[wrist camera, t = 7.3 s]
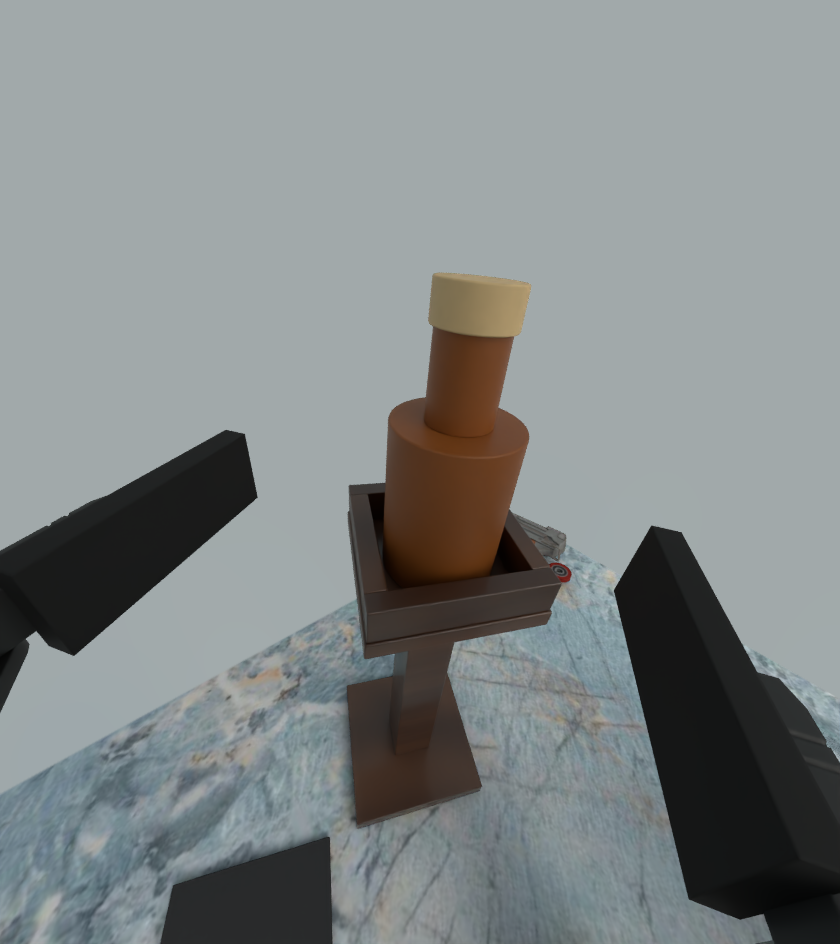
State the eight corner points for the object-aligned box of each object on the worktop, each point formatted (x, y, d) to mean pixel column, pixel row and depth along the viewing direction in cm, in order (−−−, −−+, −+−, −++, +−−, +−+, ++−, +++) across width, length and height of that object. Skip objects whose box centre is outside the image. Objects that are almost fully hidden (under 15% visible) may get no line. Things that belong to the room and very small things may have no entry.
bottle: (510, 591, 18) (613, 296, 10) (393, 610, 16) (418, 280, 9) (468, 515, 22) (518, 277, 15) (375, 524, 21) (381, 264, 14)
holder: (480, 791, 29) (582, 592, 15) (357, 829, 26) (352, 631, 13) (443, 670, 37) (490, 470, 24) (347, 690, 34) (337, 479, 21)
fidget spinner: (509, 556, 52) (511, 549, 52) (556, 555, 53) (558, 549, 52) (528, 599, 45) (530, 592, 45) (582, 598, 46) (585, 591, 45)
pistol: (523, 591, 44) (573, 549, 51) (524, 577, 43) (575, 536, 50) (427, 531, 58) (477, 504, 64) (426, 519, 57) (477, 493, 63)
